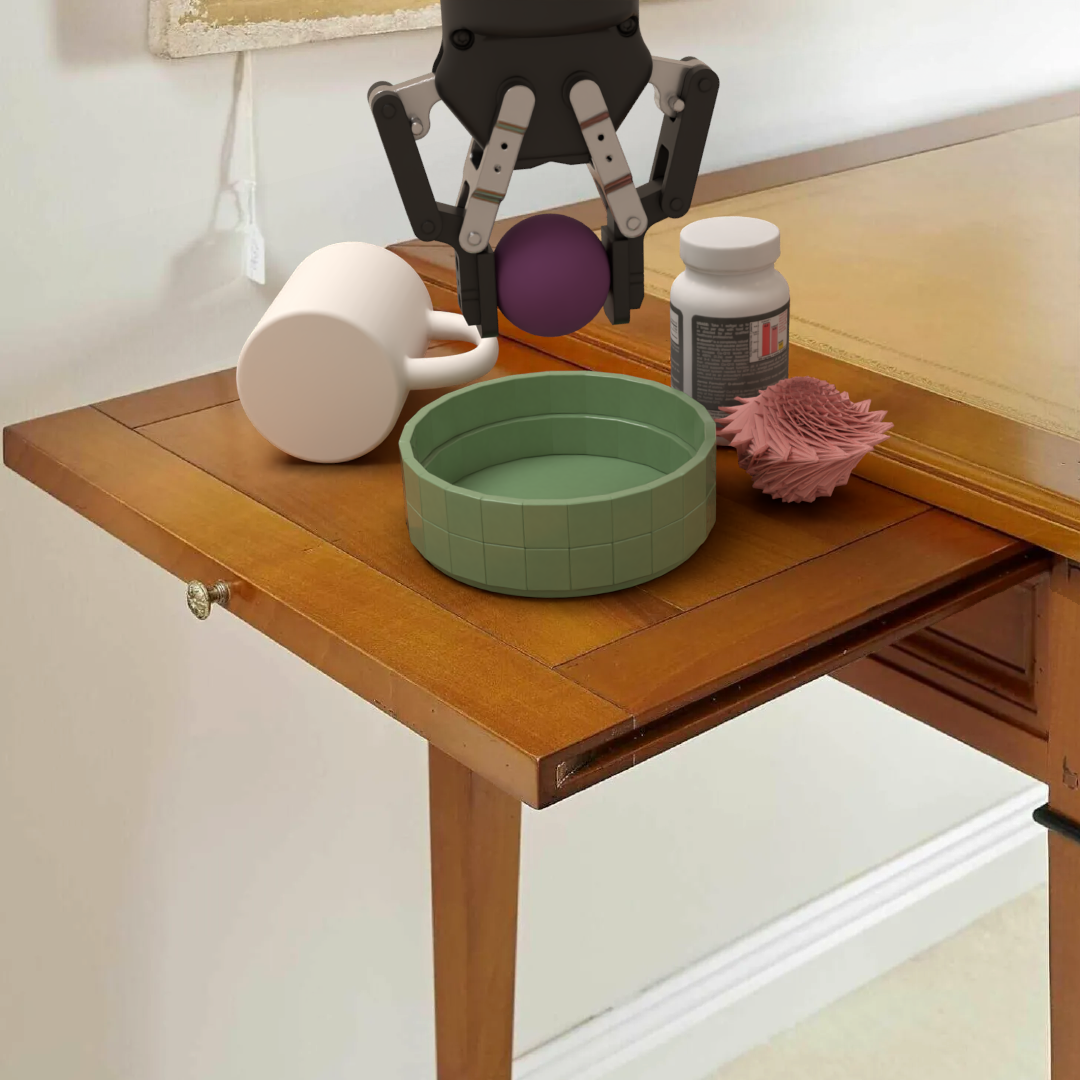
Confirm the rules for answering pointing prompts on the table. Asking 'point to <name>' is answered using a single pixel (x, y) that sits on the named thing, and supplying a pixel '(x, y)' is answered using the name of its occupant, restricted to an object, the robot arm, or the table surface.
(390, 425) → the mug
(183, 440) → the table surface
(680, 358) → the pill bottle
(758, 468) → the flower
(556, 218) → the ball
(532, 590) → the bowl
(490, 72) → the robot arm
